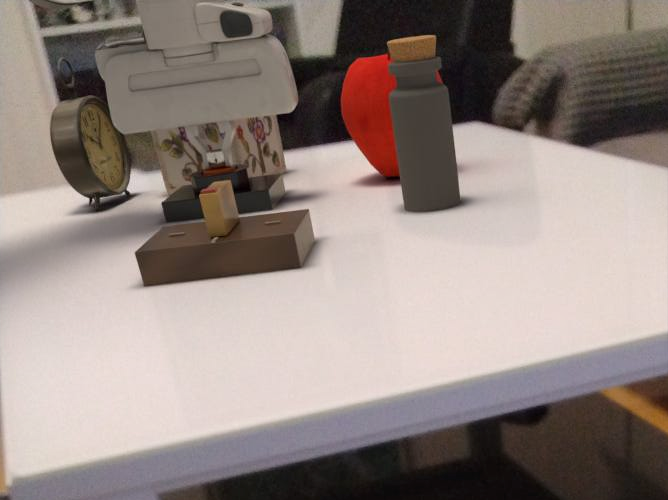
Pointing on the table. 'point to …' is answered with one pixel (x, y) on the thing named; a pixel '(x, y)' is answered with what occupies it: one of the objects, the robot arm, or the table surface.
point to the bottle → (422, 126)
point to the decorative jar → (247, 148)
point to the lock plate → (226, 248)
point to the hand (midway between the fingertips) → (219, 167)
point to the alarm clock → (89, 146)
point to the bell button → (218, 170)
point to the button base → (246, 189)
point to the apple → (371, 111)
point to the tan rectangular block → (219, 208)
